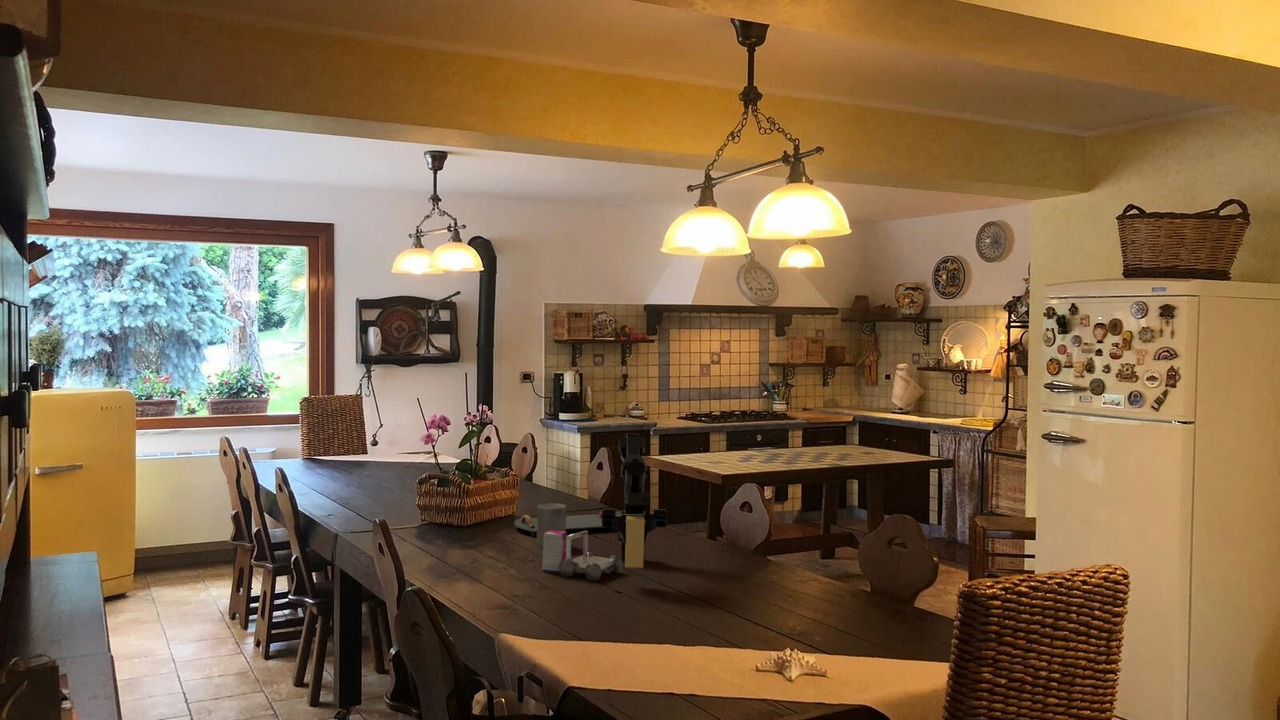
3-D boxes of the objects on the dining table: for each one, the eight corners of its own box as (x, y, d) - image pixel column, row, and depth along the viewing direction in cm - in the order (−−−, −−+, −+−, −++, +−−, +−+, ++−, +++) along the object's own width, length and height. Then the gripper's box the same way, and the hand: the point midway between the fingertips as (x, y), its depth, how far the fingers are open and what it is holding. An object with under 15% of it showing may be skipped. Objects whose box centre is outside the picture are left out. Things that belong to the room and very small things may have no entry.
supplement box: (561, 573, 284) (561, 534, 284) (541, 571, 285) (542, 533, 285) (566, 568, 290) (567, 530, 289) (547, 567, 291) (548, 529, 290)
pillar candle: (540, 542, 326) (540, 498, 326) (568, 543, 325) (568, 499, 325) (534, 549, 316) (534, 504, 316) (563, 550, 315) (563, 504, 315)
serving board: (525, 539, 333) (525, 521, 333) (507, 527, 354) (507, 510, 354) (628, 532, 348) (628, 515, 348) (604, 521, 370) (605, 505, 369)
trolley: (583, 566, 292) (583, 528, 292) (622, 573, 285) (623, 533, 285) (558, 575, 280) (559, 536, 280) (599, 582, 274) (599, 541, 273)
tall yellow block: (624, 562, 272) (626, 515, 272) (642, 563, 273) (643, 516, 272) (625, 567, 267) (626, 519, 267) (643, 567, 268) (644, 519, 267)
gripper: (602, 480, 273) (601, 526, 262) (667, 481, 274) (669, 527, 263) (602, 503, 281) (601, 548, 270) (665, 503, 282) (667, 549, 271)
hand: (634, 543), depth 268 cm, fingers closed on tall yellow block, 5 cm apart
